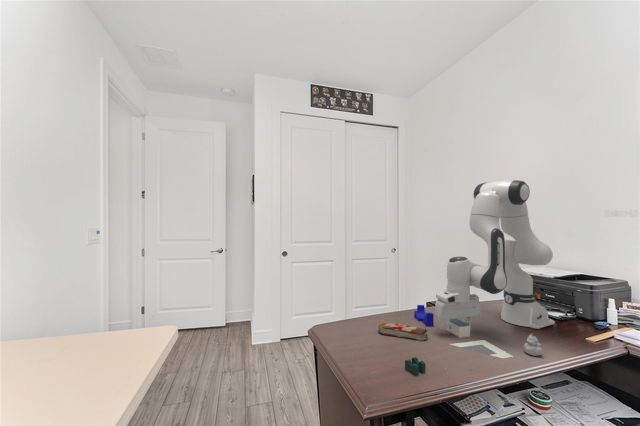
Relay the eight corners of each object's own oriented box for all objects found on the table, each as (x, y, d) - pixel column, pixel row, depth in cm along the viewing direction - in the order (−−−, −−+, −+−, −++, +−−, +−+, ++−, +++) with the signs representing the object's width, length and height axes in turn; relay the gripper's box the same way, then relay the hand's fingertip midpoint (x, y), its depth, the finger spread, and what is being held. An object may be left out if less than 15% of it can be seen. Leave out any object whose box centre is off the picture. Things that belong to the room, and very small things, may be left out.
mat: (483, 341, 109) (483, 339, 109) (513, 358, 96) (513, 356, 96) (444, 346, 105) (444, 344, 105) (470, 364, 92) (470, 362, 92)
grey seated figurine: (519, 352, 100) (519, 330, 100) (531, 349, 102) (531, 328, 102) (535, 359, 95) (535, 337, 95) (547, 356, 97) (547, 334, 97)
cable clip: (414, 316, 135) (414, 304, 135) (423, 316, 135) (423, 304, 135) (423, 327, 123) (423, 313, 123) (433, 327, 123) (433, 313, 123)
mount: (421, 368, 90) (421, 353, 90) (432, 375, 86) (432, 359, 86) (397, 378, 85) (397, 362, 85) (408, 386, 81) (408, 369, 81)
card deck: (456, 329, 120) (456, 318, 120) (470, 337, 112) (470, 325, 112) (446, 330, 119) (446, 319, 119) (459, 338, 111) (459, 326, 111)
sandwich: (384, 327, 123) (384, 316, 123) (430, 337, 112) (430, 325, 112) (375, 336, 114) (375, 324, 114) (424, 349, 103) (424, 336, 103)
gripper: (472, 291, 121) (472, 322, 121) (432, 294, 116) (432, 326, 116) (484, 295, 115) (484, 328, 115) (442, 298, 110) (442, 332, 110)
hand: (458, 327), depth 115 cm, fingers open, 8 cm apart
